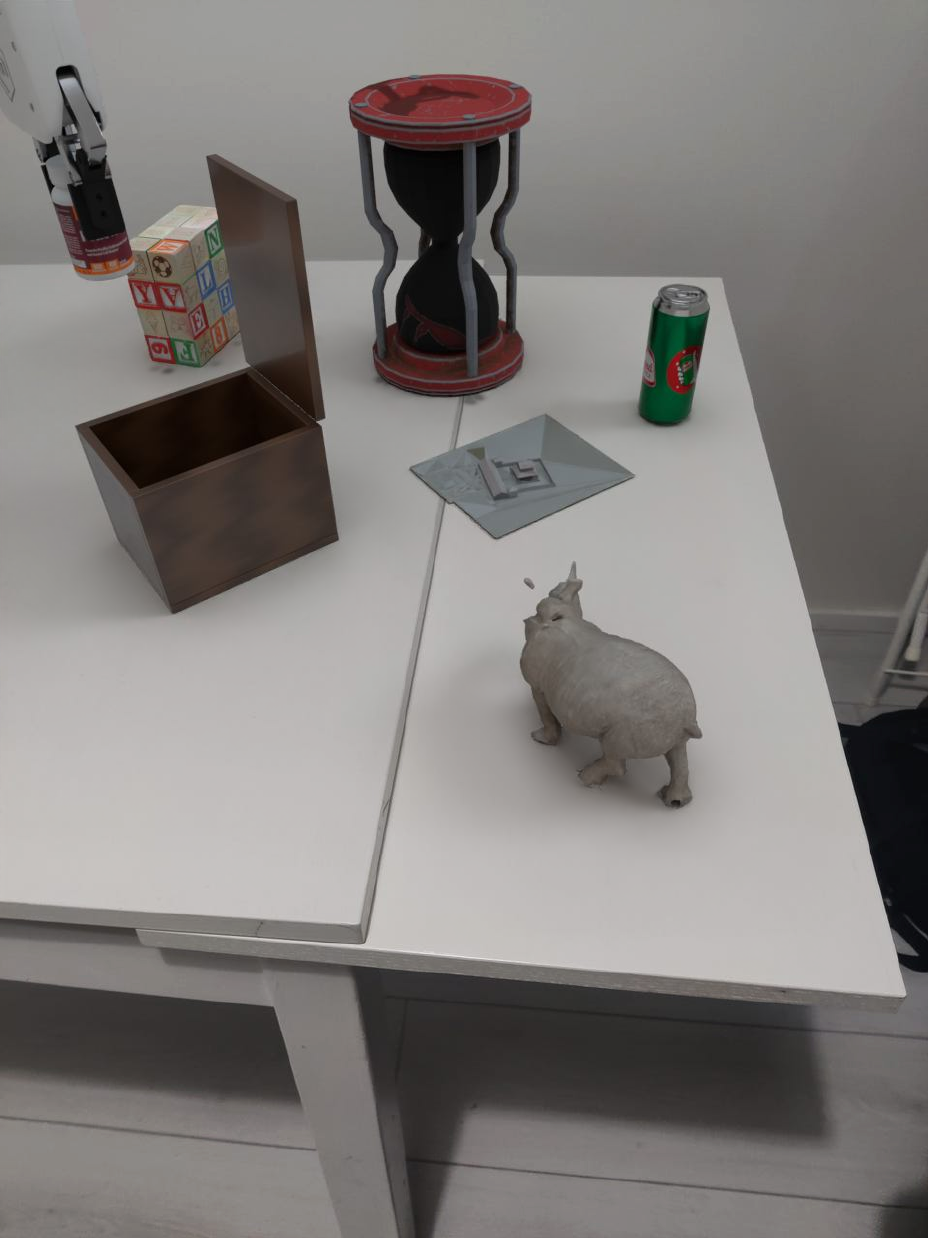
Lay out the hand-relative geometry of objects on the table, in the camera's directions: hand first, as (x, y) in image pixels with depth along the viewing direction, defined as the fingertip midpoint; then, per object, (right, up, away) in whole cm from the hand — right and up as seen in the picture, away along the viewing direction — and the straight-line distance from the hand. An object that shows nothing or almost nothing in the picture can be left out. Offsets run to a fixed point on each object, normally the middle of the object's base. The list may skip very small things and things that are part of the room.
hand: (91, 222), depth 69 cm
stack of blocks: (+1, +3, +33) cm, 33 cm away
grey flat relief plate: (+32, -21, +7) cm, 39 cm away
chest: (+10, -25, +4) cm, 27 cm away
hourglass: (+28, -3, +25) cm, 38 cm away
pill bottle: (0, -3, +3) cm, 4 cm away
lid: (+15, -8, -6) cm, 18 cm away
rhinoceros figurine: (+37, -38, -11) cm, 55 cm away
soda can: (+49, -11, +17) cm, 53 cm away
